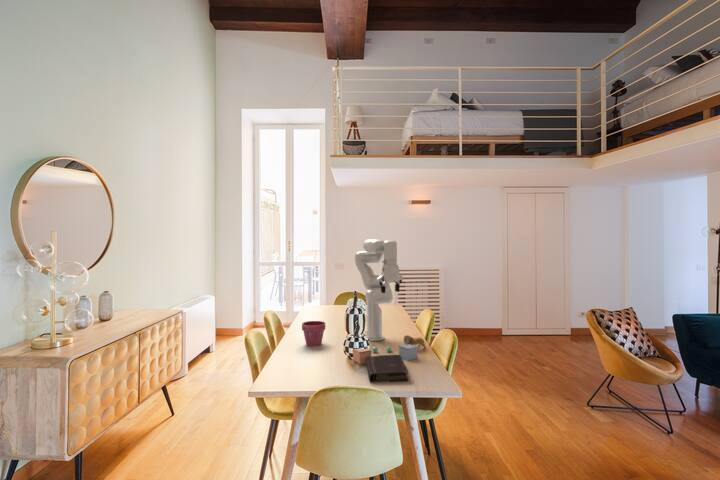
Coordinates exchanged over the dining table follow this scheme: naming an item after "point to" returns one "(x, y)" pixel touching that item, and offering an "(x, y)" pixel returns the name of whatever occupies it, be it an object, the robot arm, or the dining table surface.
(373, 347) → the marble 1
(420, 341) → the lion figurine
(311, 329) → the plant pot
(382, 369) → the diary
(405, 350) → the blue cube
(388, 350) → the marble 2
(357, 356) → the reddish brown cube
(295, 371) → the dining table surface
